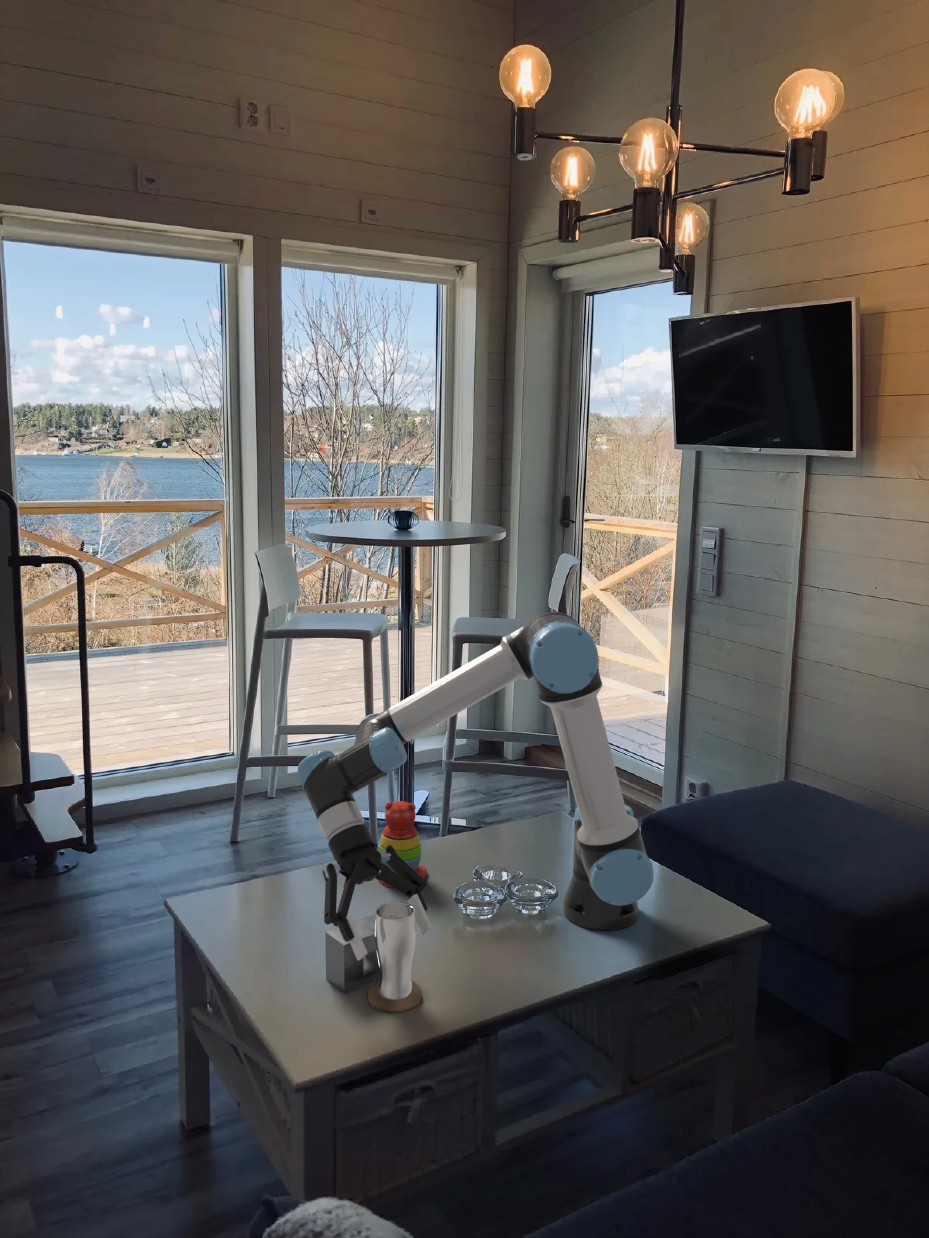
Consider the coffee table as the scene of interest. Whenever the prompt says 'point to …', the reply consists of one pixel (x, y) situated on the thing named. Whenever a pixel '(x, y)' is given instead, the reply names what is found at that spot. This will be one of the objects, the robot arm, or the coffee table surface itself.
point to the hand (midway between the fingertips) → (396, 944)
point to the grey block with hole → (352, 957)
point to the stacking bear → (402, 836)
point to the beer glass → (395, 949)
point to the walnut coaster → (390, 1005)
